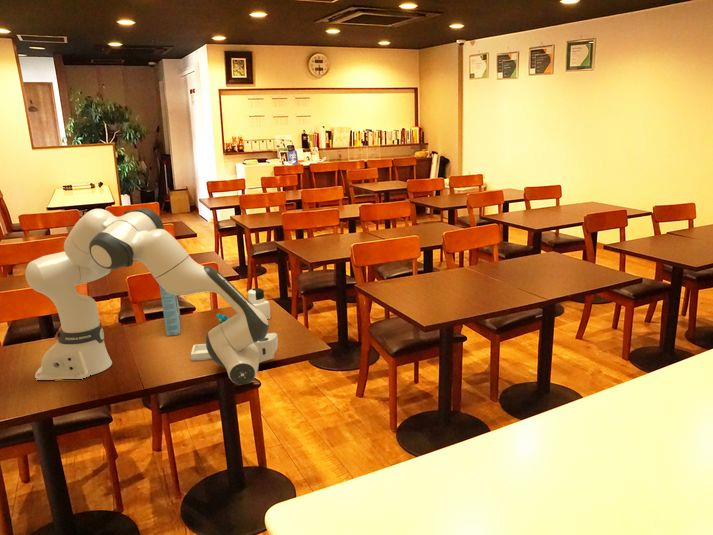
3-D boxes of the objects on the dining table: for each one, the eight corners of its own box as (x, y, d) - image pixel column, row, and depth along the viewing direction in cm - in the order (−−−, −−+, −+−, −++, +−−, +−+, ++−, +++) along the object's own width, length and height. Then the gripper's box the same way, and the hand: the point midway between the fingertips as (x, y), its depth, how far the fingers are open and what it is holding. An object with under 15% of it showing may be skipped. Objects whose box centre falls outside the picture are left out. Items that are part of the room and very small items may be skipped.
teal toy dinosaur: (246, 326, 216) (226, 313, 210) (238, 341, 214) (217, 327, 208) (232, 323, 224) (212, 310, 219) (224, 337, 222) (204, 324, 217)
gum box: (180, 334, 215) (172, 274, 209) (165, 336, 214) (157, 276, 208) (180, 317, 234) (173, 262, 227) (167, 319, 232) (159, 263, 226)
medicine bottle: (261, 314, 233) (258, 285, 230) (271, 319, 227) (268, 289, 224) (245, 319, 228) (242, 289, 225) (255, 323, 223) (252, 293, 220)
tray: (191, 361, 192) (190, 354, 191) (194, 351, 199) (193, 344, 199) (222, 358, 193) (221, 351, 192) (224, 348, 201) (223, 342, 200)
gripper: (211, 364, 178) (215, 346, 191) (278, 358, 181) (278, 340, 194) (208, 345, 177) (213, 328, 190) (277, 339, 179) (276, 322, 192)
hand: (246, 334), depth 192 cm, fingers open, 8 cm apart
